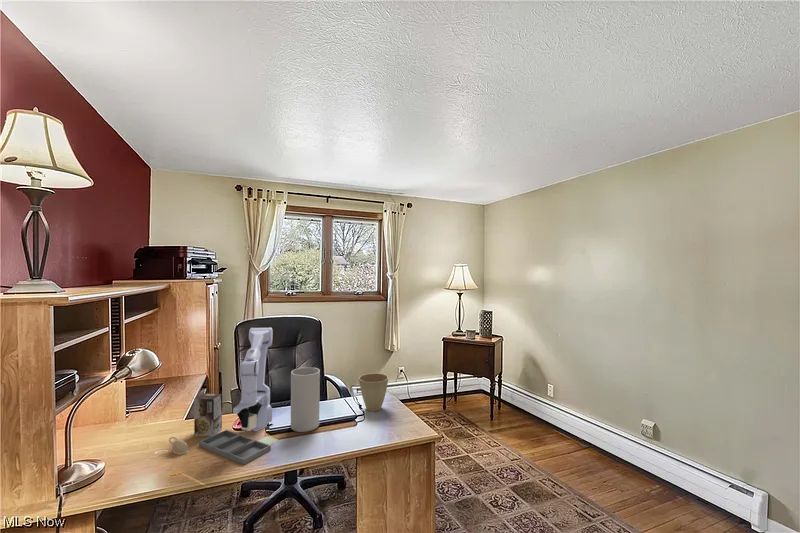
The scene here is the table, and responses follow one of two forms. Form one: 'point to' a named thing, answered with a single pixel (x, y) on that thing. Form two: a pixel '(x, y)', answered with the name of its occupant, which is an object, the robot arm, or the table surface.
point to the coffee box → (207, 414)
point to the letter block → (251, 422)
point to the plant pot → (373, 390)
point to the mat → (268, 440)
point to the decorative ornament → (179, 446)
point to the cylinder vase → (305, 399)
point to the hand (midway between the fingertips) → (248, 424)
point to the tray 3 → (249, 452)
